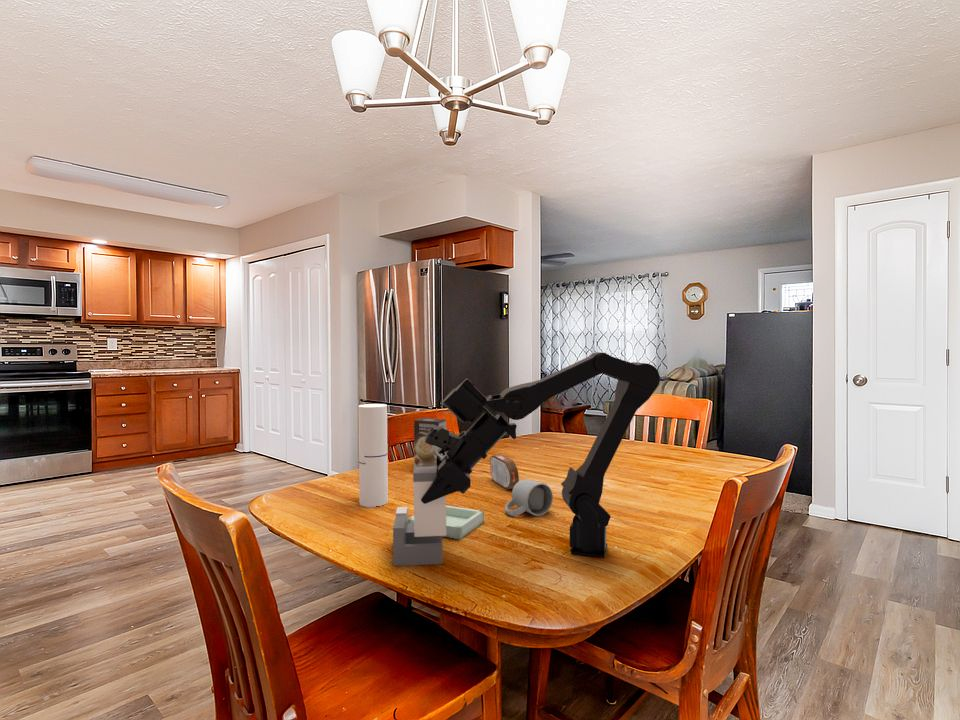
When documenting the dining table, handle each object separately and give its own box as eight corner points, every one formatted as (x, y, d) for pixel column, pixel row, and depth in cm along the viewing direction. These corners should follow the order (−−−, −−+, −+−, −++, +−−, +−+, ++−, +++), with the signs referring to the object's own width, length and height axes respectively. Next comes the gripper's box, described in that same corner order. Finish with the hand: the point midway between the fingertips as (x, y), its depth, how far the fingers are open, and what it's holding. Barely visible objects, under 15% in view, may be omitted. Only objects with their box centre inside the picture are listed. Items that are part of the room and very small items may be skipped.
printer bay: (441, 539, 111) (441, 504, 111) (442, 564, 99) (442, 524, 98) (398, 540, 110) (397, 505, 110) (393, 565, 98) (392, 526, 98)
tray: (484, 521, 122) (484, 511, 122) (459, 539, 111) (459, 527, 111) (434, 514, 127) (434, 503, 127) (406, 530, 116) (406, 519, 116)
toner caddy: (446, 526, 105) (445, 466, 105) (446, 535, 100) (445, 472, 100) (415, 527, 105) (414, 467, 104) (414, 536, 100) (413, 473, 99)
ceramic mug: (533, 504, 135) (533, 474, 134) (553, 513, 128) (553, 481, 127) (498, 511, 130) (497, 480, 129) (517, 521, 122) (516, 488, 122)
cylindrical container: (381, 508, 132) (380, 407, 131) (354, 506, 133) (353, 406, 132) (392, 499, 139) (391, 404, 138) (366, 498, 140) (365, 403, 139)
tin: (519, 492, 146) (519, 461, 145) (509, 493, 145) (509, 462, 144) (497, 478, 160) (497, 450, 159) (488, 479, 159) (488, 451, 158)
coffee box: (412, 469, 171) (412, 419, 171) (422, 465, 177) (422, 417, 176) (438, 472, 168) (438, 421, 167) (447, 467, 174) (447, 418, 173)
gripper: (448, 404, 111) (396, 458, 111) (450, 417, 93) (387, 482, 92) (486, 440, 112) (434, 494, 112) (496, 460, 94) (434, 525, 93)
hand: (422, 497), depth 102 cm, fingers closed on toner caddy, 5 cm apart
